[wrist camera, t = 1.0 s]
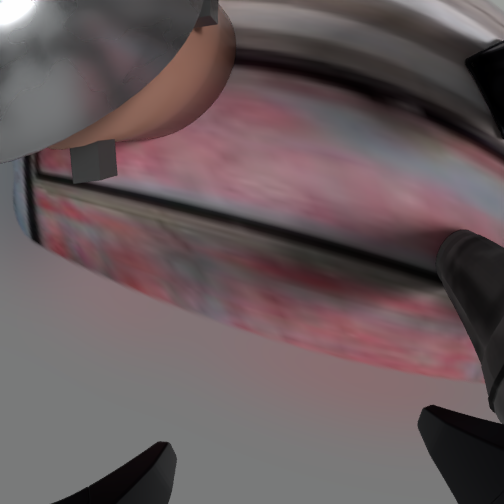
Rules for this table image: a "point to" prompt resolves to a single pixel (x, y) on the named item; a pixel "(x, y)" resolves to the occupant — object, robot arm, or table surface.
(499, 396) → the beverage cup
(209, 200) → the table surface
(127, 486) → the robot arm
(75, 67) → the cooker lid
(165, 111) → the cooker pot
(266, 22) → the table surface
